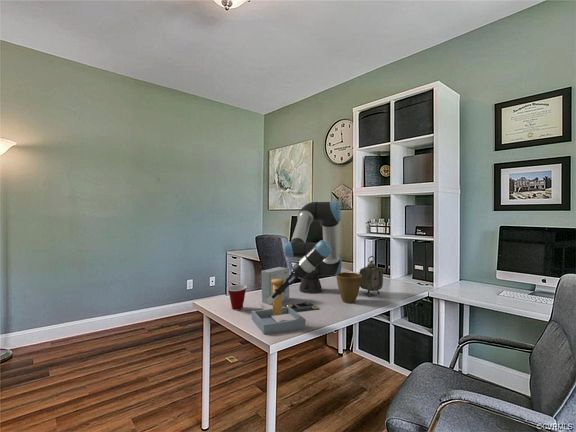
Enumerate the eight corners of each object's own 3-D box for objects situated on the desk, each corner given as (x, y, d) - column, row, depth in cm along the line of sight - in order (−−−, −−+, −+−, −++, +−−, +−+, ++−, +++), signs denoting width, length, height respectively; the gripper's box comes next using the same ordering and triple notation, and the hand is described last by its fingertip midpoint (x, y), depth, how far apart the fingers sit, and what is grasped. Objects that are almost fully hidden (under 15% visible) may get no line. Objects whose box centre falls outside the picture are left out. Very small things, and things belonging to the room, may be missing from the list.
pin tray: (288, 314, 159) (288, 306, 159) (305, 327, 140) (305, 319, 140) (251, 319, 151) (251, 311, 151) (263, 334, 133) (263, 325, 133)
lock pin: (280, 311, 149) (281, 278, 149) (285, 314, 144) (285, 281, 143) (269, 312, 147) (269, 279, 147) (273, 316, 141) (273, 282, 141)
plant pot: (331, 299, 186) (331, 273, 186) (352, 296, 192) (352, 271, 191) (344, 306, 172) (345, 278, 172) (366, 303, 178) (366, 276, 178)
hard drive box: (280, 299, 185) (281, 266, 185) (289, 302, 180) (290, 268, 180) (261, 304, 174) (261, 270, 174) (269, 307, 169) (270, 272, 169)
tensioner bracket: (310, 305, 173) (310, 300, 173) (320, 312, 162) (320, 306, 162) (284, 308, 167) (284, 303, 167) (292, 315, 156) (292, 310, 156)
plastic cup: (223, 307, 168) (223, 286, 168) (240, 304, 175) (240, 283, 175) (233, 313, 160) (233, 290, 160) (250, 309, 167) (250, 287, 167)
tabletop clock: (370, 298, 189) (370, 257, 189) (358, 295, 196) (358, 256, 196) (382, 294, 199) (383, 255, 199) (370, 291, 206) (371, 254, 205)
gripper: (306, 277, 133) (270, 311, 137) (312, 269, 150) (279, 301, 154) (294, 264, 134) (258, 299, 138) (301, 258, 151) (269, 289, 155)
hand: (269, 300), depth 146 cm, fingers closed on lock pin, 4 cm apart
